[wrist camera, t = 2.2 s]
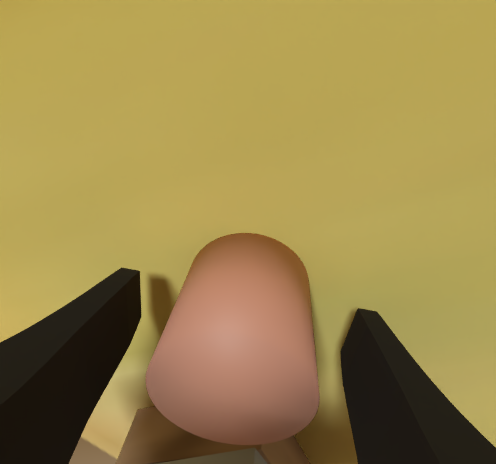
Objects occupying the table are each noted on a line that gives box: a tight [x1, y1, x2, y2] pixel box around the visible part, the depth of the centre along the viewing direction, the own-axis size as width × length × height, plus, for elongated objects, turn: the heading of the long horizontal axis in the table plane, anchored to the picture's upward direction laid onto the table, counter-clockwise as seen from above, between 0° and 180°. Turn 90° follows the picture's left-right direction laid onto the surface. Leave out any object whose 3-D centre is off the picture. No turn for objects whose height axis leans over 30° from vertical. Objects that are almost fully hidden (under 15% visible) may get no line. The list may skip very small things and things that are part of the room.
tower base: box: [116, 406, 310, 464], centre depth 16 cm, size 7×7×3 cm
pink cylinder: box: [146, 233, 320, 445], centre depth 10 cm, size 4×4×4 cm
